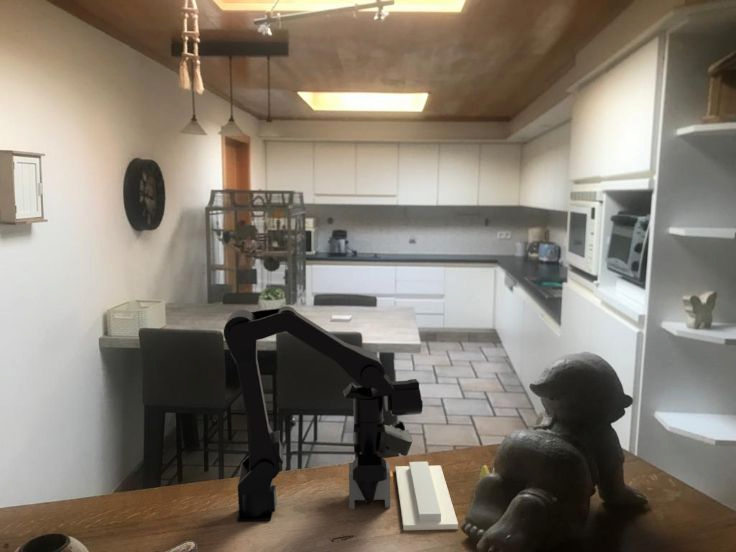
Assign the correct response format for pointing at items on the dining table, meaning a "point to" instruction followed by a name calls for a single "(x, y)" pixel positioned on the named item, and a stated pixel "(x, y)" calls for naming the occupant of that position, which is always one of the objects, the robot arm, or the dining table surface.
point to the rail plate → (411, 505)
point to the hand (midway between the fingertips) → (369, 491)
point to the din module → (381, 489)
